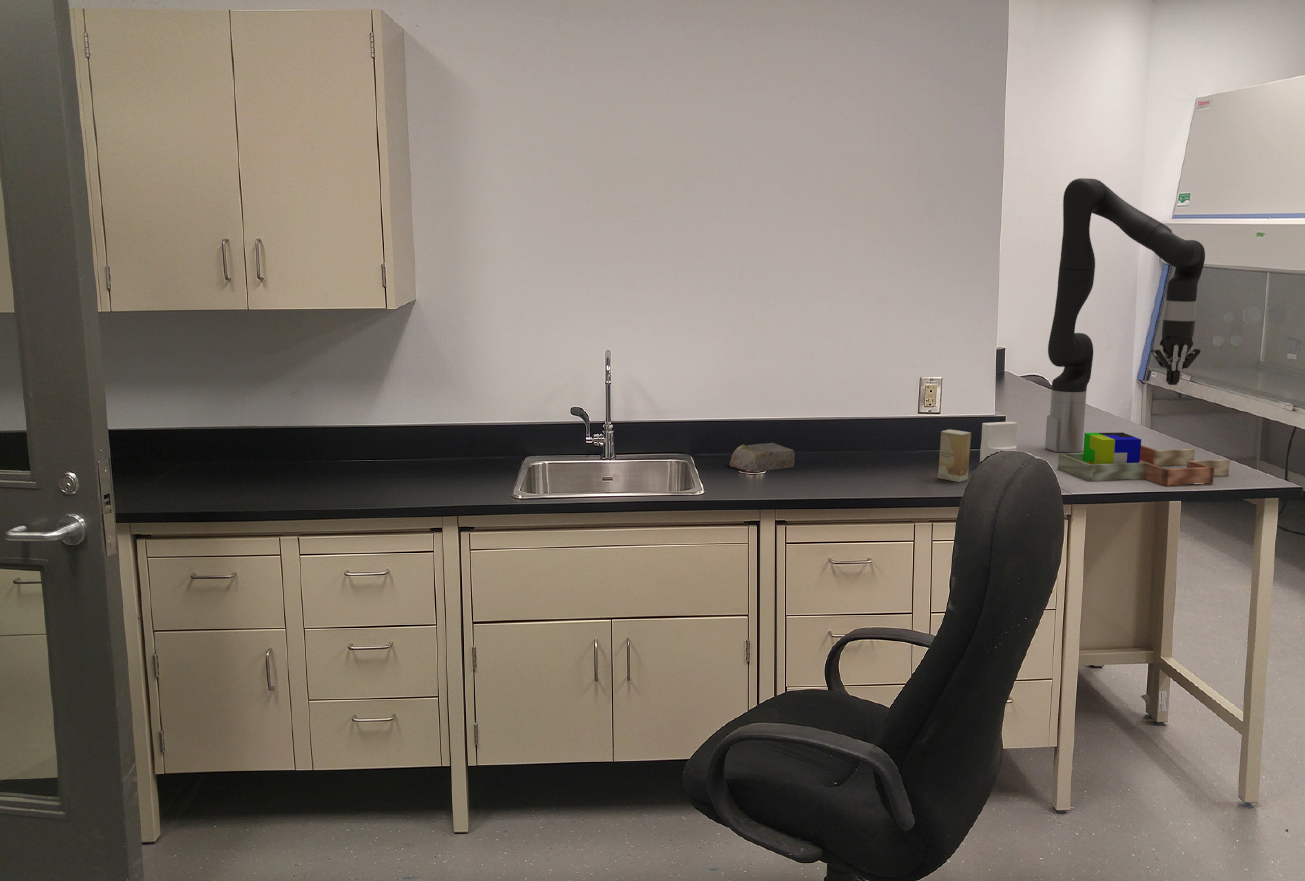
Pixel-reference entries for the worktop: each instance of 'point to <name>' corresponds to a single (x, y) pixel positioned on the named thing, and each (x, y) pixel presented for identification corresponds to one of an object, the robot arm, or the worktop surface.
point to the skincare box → (954, 455)
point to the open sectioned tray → (1148, 467)
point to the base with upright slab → (997, 438)
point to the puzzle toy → (1111, 448)
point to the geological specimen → (762, 457)
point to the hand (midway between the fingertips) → (1172, 384)
